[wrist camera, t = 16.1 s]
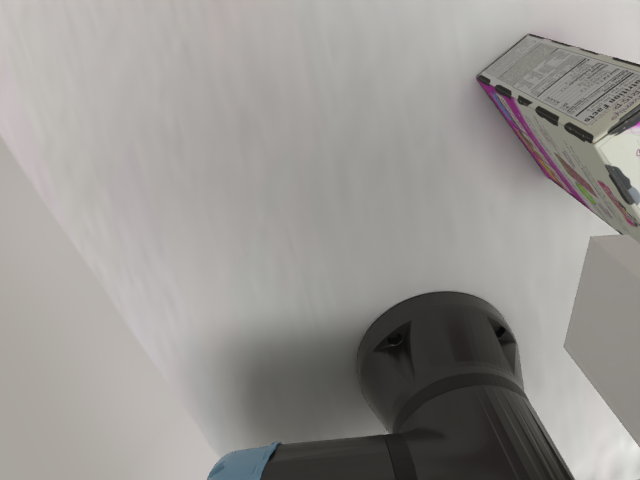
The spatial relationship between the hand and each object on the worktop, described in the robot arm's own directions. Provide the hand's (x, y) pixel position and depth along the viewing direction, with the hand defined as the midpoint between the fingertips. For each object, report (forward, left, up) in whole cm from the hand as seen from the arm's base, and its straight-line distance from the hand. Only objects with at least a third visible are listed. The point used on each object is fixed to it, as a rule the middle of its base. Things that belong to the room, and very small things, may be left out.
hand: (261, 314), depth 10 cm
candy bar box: (-4, -20, -30) cm, 37 cm away
